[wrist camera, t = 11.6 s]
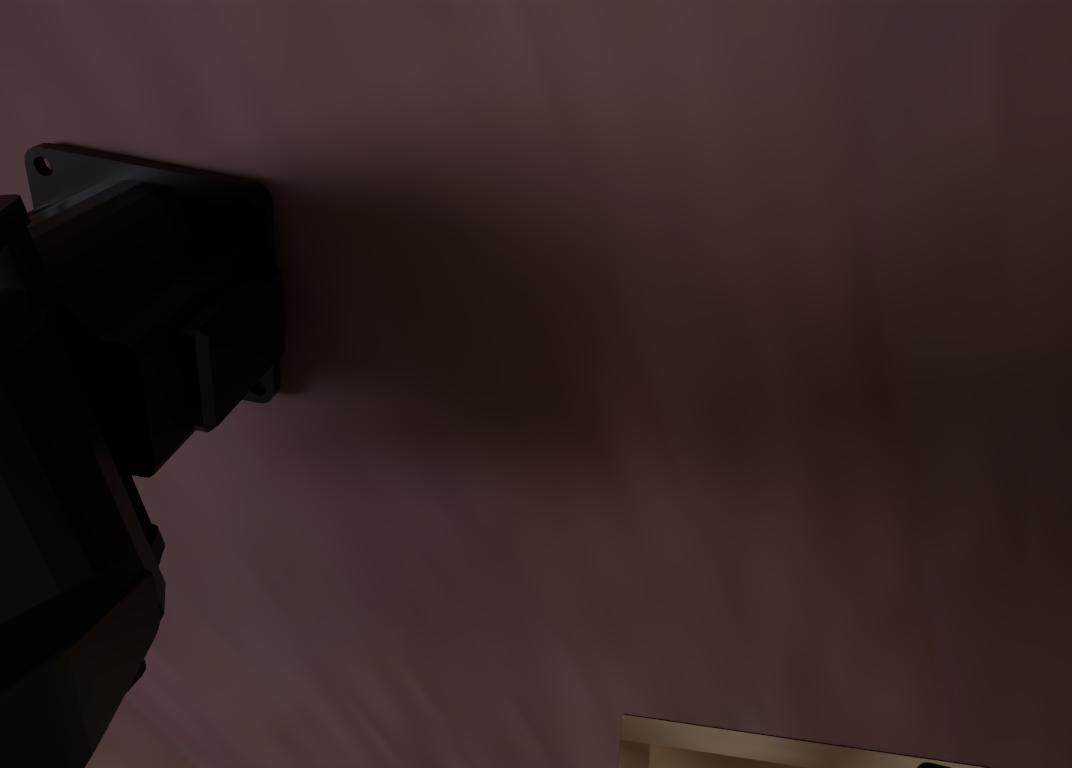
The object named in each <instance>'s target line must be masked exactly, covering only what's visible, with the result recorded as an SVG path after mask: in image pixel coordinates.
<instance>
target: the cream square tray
mask: <svg viewBox="0 0 1072 768" xmlns="http://www.w3.org/2000/svg"><path fill="white" fill-rule="evenodd" d="M924 762H931V763H935V764H939V765H943V766H947V767H951V768H984V767H978V766H971V765H964V764H957V763H950V762H943V761H937V760H930V759H923V758H916V757H909V756H902V755H895V754H889V753H882V752H875V751H868V750H861V749H854V748H848V747H841V746H834V745H827V744H820V743H813V742H807V741H800V740H793V739H786V738H779V737H772V736H765V735H759V734H752V733H745V732H738V731H731V730H724V729H718V728H711V727H704V726H697V725H690V724H683V723H676V722H670V721H663V720H656V719H649V718H642V717H635V716H629V715H623V718H622V729H621V740H620V750H619V761H618V768H917V767H918V766H919V765H920V764H922V763H924Z"/></svg>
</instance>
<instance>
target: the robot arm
mask: <svg viewBox="0 0 1072 768" xmlns="http://www.w3.org/2000/svg"><path fill="white" fill-rule="evenodd" d="M44 158H46V159H47V160H48V161H49V162H50V163H51V166H52V170H50V169H49V168H48V167H47V166H46V164H45V161H44ZM25 166H26V171H27V176H28V181H29V186H30V191H31V196H32V201H33V206H34V210H32V211H30V212H28V213H27V211H26V208H25V206H24V204H23V201H22V199H21V196H20V195H0V768H85V766H86V765H87V763H88V761H89V760H90V758H91V757H92V755H93V753H94V751H95V750H96V748H97V746H98V744H99V742H100V741H101V739H102V737H103V735H104V733H105V732H106V730H107V728H108V726H109V724H110V722H111V720H112V718H113V716H114V714H115V713H116V711H117V709H118V707H119V705H120V703H121V701H122V699H123V697H124V695H125V694H126V693H127V692H128V691H129V690H130V689H131V687H132V686H133V685H134V684H135V683H136V682H137V681H138V680H139V679H140V677H141V676H142V675H143V673H144V671H145V670H146V662H145V660H144V658H145V656H146V654H147V652H148V650H149V648H150V646H151V644H152V642H153V641H154V639H155V636H156V634H157V631H158V628H159V624H160V621H161V619H162V617H163V615H164V606H165V581H164V578H163V576H162V574H161V571H160V569H159V567H158V566H159V563H160V560H161V557H162V554H163V551H164V548H165V543H164V540H163V538H162V536H161V533H160V531H159V528H158V526H157V525H154V524H151V521H150V519H149V517H148V514H147V512H146V509H145V507H144V505H143V502H142V500H141V498H140V495H139V493H138V490H137V488H136V486H135V483H134V481H133V478H132V476H131V475H135V476H139V477H151V476H153V475H154V474H155V473H156V472H157V471H158V470H159V469H160V468H161V467H162V466H163V464H164V463H165V462H166V461H167V460H168V459H169V458H170V457H171V456H172V455H173V454H174V453H175V452H176V451H177V450H178V449H179V447H180V446H181V445H182V444H183V443H184V442H185V441H186V440H187V439H188V438H189V437H190V436H191V435H192V434H193V433H194V431H195V430H199V431H203V432H209V431H211V430H212V429H214V428H215V427H217V426H218V425H219V424H220V423H221V422H222V421H223V420H224V419H225V417H226V416H227V415H228V414H229V413H230V412H231V411H232V410H233V409H234V408H235V406H236V405H237V404H238V403H239V402H240V401H241V400H247V401H252V402H257V403H266V402H269V401H270V400H271V399H272V398H273V397H274V396H275V394H276V393H277V392H278V391H279V389H280V365H279V358H280V357H281V356H282V355H283V353H284V352H285V326H284V299H283V274H282V272H281V270H280V268H279V267H278V265H277V264H276V263H275V244H274V219H273V201H272V197H271V194H270V193H269V191H268V190H267V188H266V187H264V186H263V185H262V184H261V183H259V182H256V181H253V180H248V179H243V178H237V177H232V176H227V175H221V174H216V173H210V172H205V171H199V170H194V169H189V168H183V167H178V166H172V165H167V164H161V163H156V162H151V161H145V160H140V159H134V158H129V157H123V156H118V155H113V154H107V153H102V152H96V151H91V150H86V149H80V148H75V147H69V146H64V145H58V144H53V143H42V144H40V145H37V146H34V147H32V148H30V149H29V150H27V152H26V154H25ZM245 195H249V196H251V197H252V198H253V199H254V200H255V202H256V205H257V207H256V209H253V208H251V207H249V205H248V204H247V203H246V201H245ZM258 381H259V382H261V383H263V385H264V386H265V388H266V389H263V388H261V387H259V385H258V384H257V382H258ZM917 768H951V767H947V766H943V765H939V764H935V763H931V762H924V763H922V764H920V765H919V766H918V767H917Z"/></svg>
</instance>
